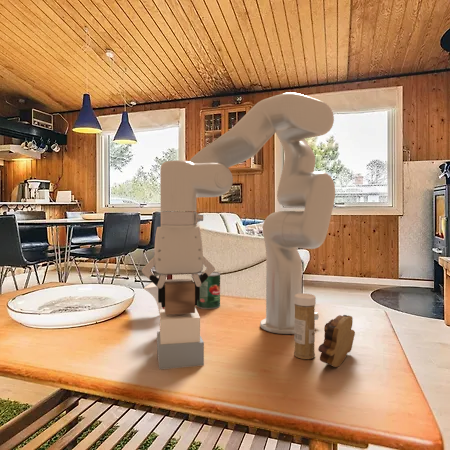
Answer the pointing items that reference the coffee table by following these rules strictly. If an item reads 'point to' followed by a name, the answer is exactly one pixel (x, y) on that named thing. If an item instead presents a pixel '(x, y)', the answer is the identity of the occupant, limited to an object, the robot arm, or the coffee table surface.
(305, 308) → the sprinkles bottle
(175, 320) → the tower top
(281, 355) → the coffee table surface
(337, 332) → the wooden carving
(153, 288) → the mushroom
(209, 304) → the canned tomato
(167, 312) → the walnut cube
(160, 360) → the tower base
